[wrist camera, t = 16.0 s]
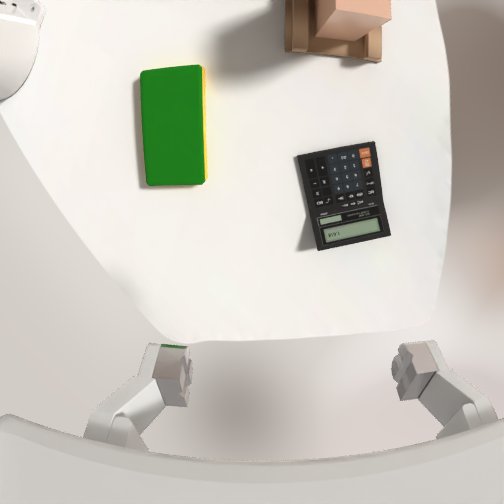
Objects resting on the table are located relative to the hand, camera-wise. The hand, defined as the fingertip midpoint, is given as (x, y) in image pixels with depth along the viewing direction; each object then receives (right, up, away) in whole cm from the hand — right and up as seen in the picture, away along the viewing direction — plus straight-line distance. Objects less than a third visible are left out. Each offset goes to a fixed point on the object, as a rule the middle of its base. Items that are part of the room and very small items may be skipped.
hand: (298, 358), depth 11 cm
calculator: (+9, +11, +27) cm, 30 cm away
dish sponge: (-11, +19, +24) cm, 32 cm away
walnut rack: (+7, +30, +17) cm, 35 cm away
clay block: (+7, +30, +16) cm, 35 cm away
